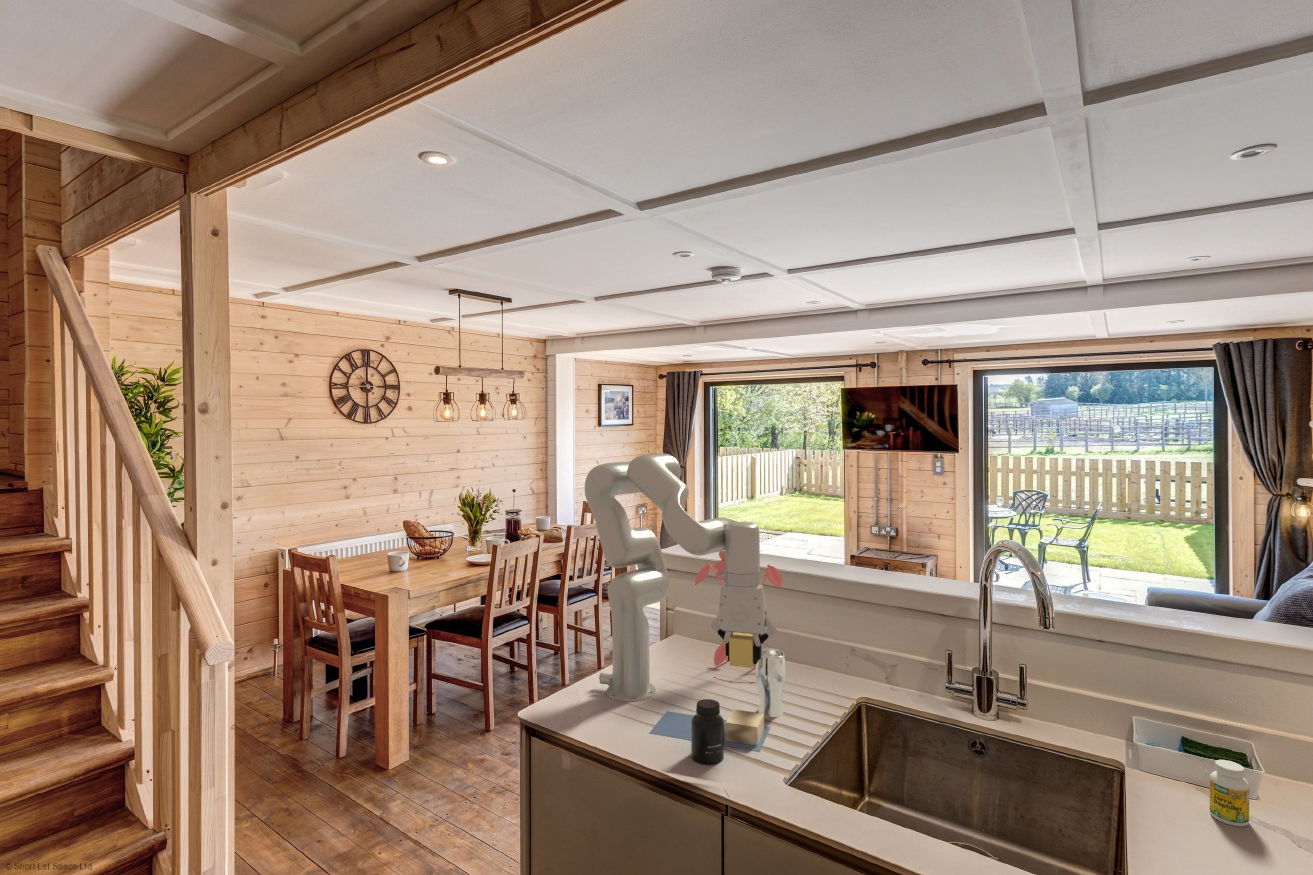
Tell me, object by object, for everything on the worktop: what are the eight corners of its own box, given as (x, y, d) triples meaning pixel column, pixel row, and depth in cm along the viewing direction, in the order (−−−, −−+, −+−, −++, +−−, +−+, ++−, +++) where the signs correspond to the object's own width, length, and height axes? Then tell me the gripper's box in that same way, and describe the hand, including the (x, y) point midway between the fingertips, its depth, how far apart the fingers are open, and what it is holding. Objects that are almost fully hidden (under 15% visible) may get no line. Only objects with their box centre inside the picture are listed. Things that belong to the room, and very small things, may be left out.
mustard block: (729, 665, 148) (729, 638, 148) (735, 657, 152) (734, 631, 152) (752, 668, 146) (751, 640, 146) (757, 660, 151) (756, 633, 151)
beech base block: (725, 740, 148) (725, 722, 148) (733, 726, 154) (733, 709, 154) (757, 745, 145) (757, 727, 145) (763, 731, 152) (763, 713, 152)
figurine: (700, 656, 201) (699, 539, 199) (787, 669, 191) (787, 546, 189) (682, 675, 187) (681, 550, 185) (774, 690, 177) (774, 558, 175)
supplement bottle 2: (1250, 818, 120) (1251, 764, 119) (1247, 831, 116) (1249, 776, 116) (1211, 805, 124) (1212, 754, 123) (1207, 818, 120) (1208, 765, 119)
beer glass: (785, 722, 158) (785, 659, 157) (754, 720, 159) (754, 657, 159) (785, 709, 165) (785, 648, 164) (756, 707, 166) (756, 647, 166)
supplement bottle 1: (714, 772, 136) (714, 713, 136) (685, 763, 140) (685, 705, 139) (729, 757, 142) (729, 701, 142) (701, 749, 146) (700, 694, 145)
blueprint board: (648, 736, 151) (648, 733, 151) (666, 714, 163) (666, 710, 163) (759, 755, 143) (759, 751, 143) (770, 730, 154) (770, 727, 154)
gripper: (700, 580, 148) (701, 662, 149) (778, 585, 142) (779, 671, 143) (710, 572, 155) (710, 651, 156) (784, 577, 149) (785, 659, 150)
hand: (743, 659), depth 149 cm, fingers closed on mustard block, 5 cm apart
